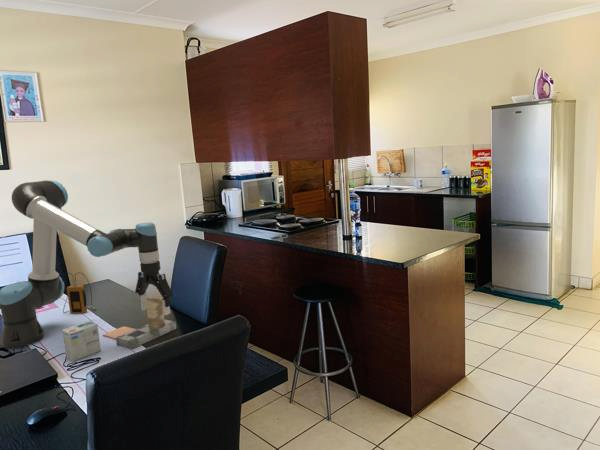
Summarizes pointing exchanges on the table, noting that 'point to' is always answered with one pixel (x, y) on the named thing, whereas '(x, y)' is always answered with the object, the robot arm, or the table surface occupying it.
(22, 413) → the table surface
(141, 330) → the rail
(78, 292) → the multimeter
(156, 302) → the peg
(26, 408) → the table surface
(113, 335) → the pad
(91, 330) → the light bulb box
